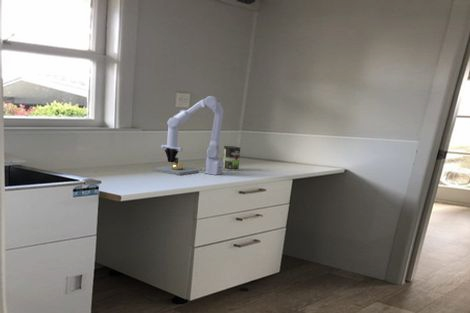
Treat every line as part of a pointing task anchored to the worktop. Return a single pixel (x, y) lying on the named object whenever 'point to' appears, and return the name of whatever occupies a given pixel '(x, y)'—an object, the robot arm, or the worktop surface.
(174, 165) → the spiked mace toy
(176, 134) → the robot arm
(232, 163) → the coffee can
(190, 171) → the grey board
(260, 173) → the worktop surface
